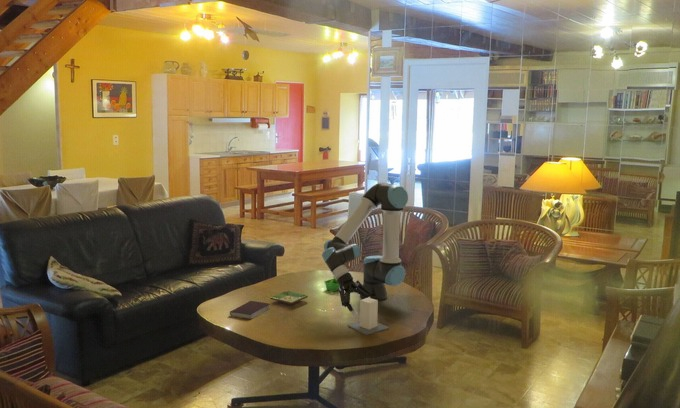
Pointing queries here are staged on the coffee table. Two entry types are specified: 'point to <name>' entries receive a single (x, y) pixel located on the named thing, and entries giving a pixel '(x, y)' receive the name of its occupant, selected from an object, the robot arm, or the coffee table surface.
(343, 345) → the coffee table surface
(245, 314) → the book
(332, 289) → the fruit basket
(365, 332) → the slate mat
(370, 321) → the cream block
